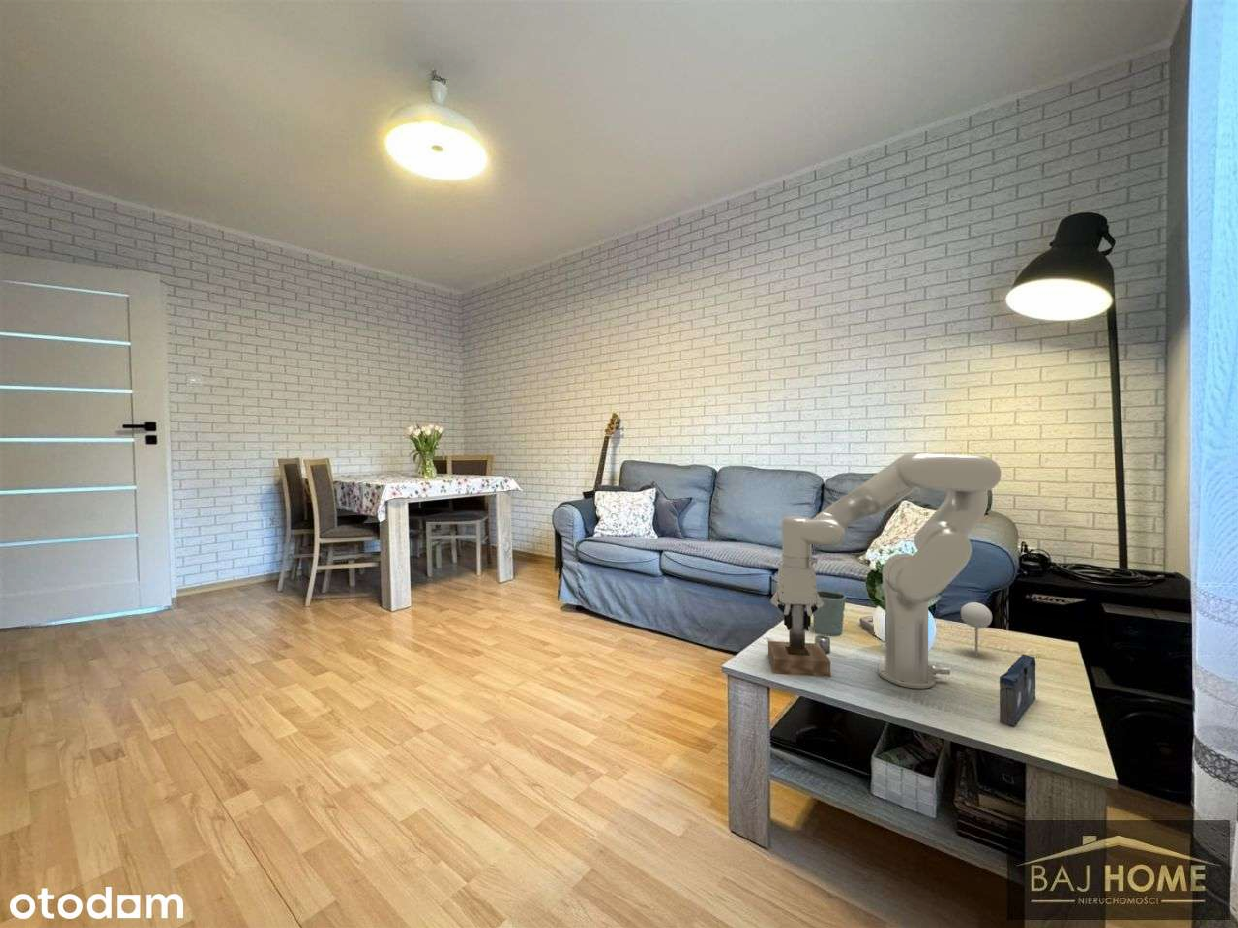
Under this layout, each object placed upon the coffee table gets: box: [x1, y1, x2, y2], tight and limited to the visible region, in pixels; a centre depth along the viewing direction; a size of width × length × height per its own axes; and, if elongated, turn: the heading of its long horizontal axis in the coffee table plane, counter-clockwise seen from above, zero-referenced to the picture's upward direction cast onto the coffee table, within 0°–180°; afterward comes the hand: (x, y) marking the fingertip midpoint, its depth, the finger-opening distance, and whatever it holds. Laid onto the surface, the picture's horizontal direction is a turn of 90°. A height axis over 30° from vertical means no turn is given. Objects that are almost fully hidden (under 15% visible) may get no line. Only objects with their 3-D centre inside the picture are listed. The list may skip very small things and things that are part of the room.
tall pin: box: [788, 604, 806, 649], centre depth 130 cm, size 4×4×12 cm
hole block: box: [767, 640, 832, 678], centre depth 130 cm, size 14×12×4 cm
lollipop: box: [960, 601, 993, 657], centre depth 134 cm, size 7×7×15 cm
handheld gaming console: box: [858, 615, 875, 636], centre depth 152 cm, size 9×4×15 cm
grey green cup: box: [812, 589, 847, 637], centre depth 154 cm, size 10×10×12 cm
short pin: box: [814, 634, 831, 655], centre depth 139 cm, size 4×4×4 cm
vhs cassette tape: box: [999, 654, 1037, 728], centre depth 106 cm, size 18×3×10 cm, turn 127°
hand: (797, 627), depth 130 cm, fingers closed on tall pin, 4 cm apart
